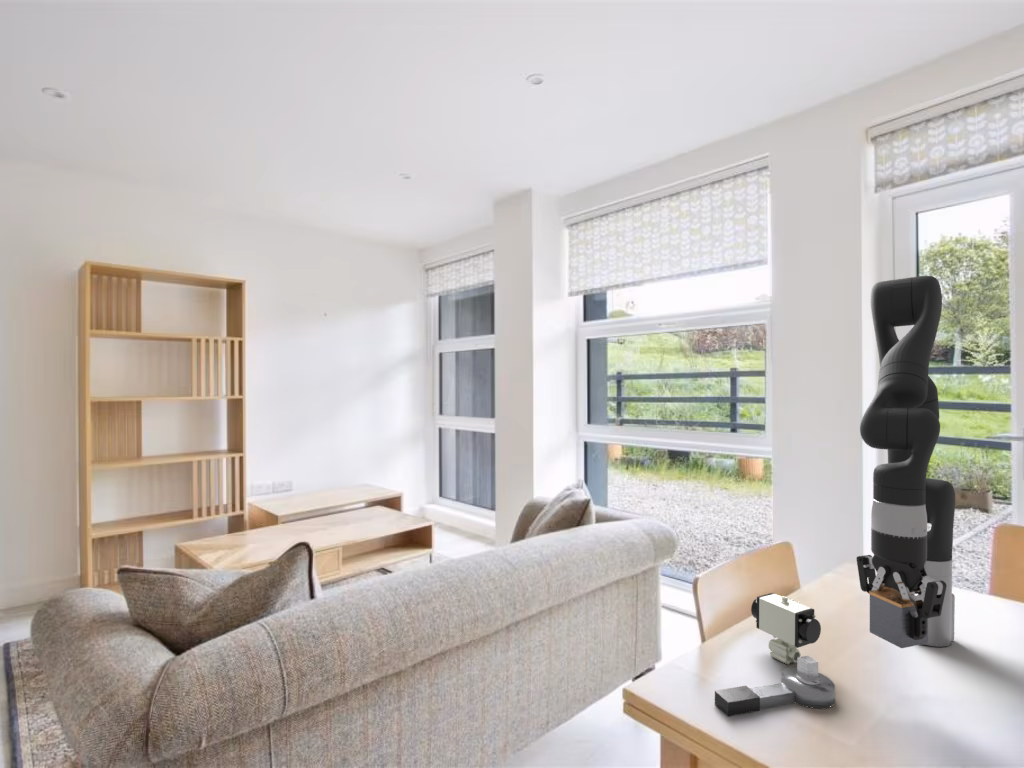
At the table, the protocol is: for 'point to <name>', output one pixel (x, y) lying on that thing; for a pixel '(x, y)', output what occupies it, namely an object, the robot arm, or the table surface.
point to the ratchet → (781, 691)
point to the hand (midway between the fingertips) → (898, 629)
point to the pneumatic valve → (785, 625)
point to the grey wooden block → (892, 618)
